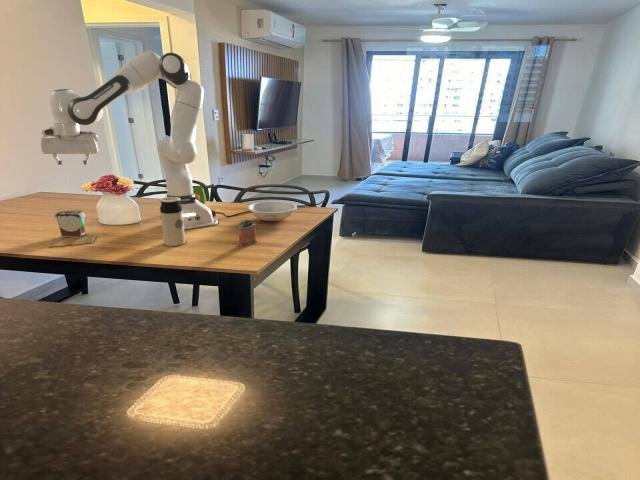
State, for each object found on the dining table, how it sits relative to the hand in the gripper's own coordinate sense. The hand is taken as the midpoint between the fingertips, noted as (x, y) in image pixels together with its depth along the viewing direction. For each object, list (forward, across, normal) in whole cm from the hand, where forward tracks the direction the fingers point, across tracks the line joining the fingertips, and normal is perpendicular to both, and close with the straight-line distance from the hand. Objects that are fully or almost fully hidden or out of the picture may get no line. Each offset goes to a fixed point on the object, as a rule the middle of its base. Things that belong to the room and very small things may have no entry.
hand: (73, 164), depth 162 cm
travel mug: (+27, -37, +37) cm, 59 cm away
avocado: (+26, -52, -20) cm, 62 cm away
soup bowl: (+26, -83, +16) cm, 88 cm away
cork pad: (+27, 0, +22) cm, 35 cm away
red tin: (+26, -64, +47) cm, 84 cm away
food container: (+27, 0, +14) cm, 31 cm away
